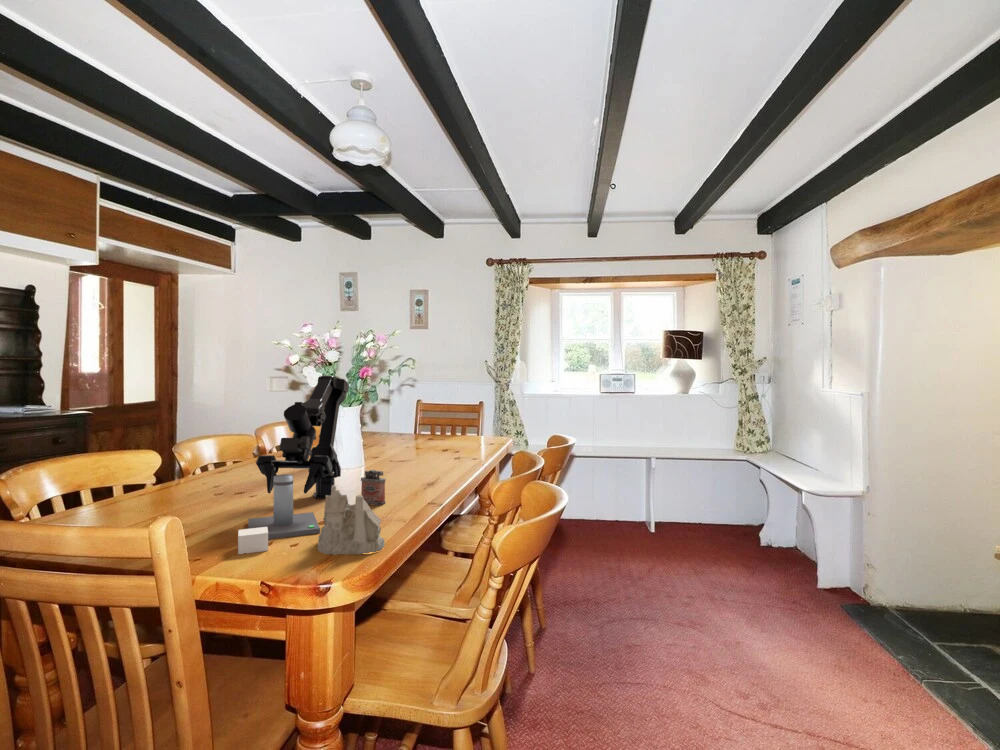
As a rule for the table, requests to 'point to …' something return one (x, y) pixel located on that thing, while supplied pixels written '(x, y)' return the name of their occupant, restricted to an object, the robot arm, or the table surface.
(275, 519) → the grey cylinder
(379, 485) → the lighter
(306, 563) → the table surface
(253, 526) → the charging mat
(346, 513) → the stone castle ruin
